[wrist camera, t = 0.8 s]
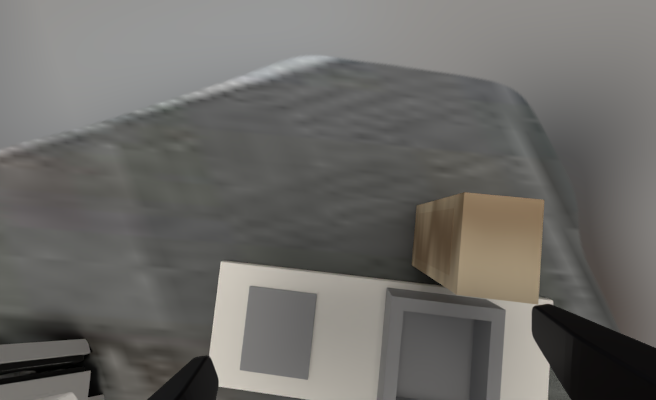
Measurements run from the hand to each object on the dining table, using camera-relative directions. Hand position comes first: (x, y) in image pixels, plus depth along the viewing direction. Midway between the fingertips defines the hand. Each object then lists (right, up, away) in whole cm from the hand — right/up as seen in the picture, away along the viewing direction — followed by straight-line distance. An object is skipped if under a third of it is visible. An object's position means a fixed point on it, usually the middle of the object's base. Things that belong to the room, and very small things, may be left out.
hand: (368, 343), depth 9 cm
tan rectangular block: (+7, +1, +15) cm, 17 cm away
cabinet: (+2, -6, +15) cm, 16 cm away
